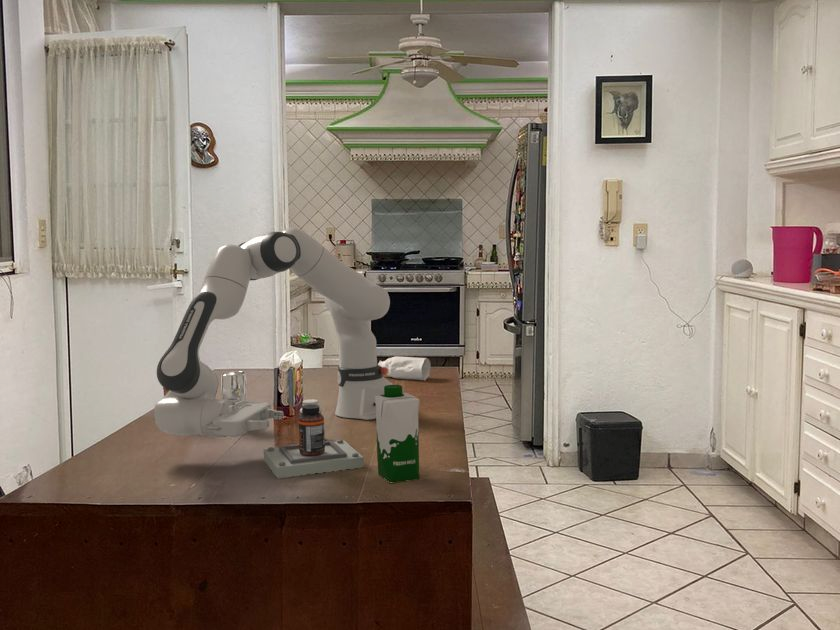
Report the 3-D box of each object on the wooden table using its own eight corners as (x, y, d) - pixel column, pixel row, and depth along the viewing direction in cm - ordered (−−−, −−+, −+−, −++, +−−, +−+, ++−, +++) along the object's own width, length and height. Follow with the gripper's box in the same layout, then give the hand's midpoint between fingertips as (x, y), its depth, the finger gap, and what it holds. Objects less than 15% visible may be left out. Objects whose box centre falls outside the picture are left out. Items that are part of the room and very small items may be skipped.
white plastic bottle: (385, 375, 308) (384, 353, 307) (431, 378, 300) (431, 356, 299) (374, 379, 301) (374, 357, 300) (422, 382, 293) (421, 359, 292)
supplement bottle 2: (297, 451, 198) (295, 404, 197) (321, 448, 200) (320, 402, 199) (302, 458, 193) (300, 409, 191) (327, 455, 195) (326, 407, 193)
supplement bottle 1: (297, 441, 217) (295, 402, 216) (306, 435, 222) (305, 398, 221) (316, 442, 215) (315, 403, 214) (325, 437, 221) (324, 399, 220)
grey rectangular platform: (344, 450, 208) (344, 437, 207) (363, 467, 193) (363, 453, 193) (263, 459, 201) (263, 446, 200) (277, 478, 186) (276, 464, 185)
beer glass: (242, 429, 231) (240, 375, 229) (218, 428, 232) (216, 375, 230) (252, 423, 237) (250, 371, 236) (229, 422, 239) (227, 370, 237)
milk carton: (409, 469, 191) (407, 382, 189) (425, 480, 183) (423, 389, 181) (372, 474, 188) (370, 386, 186) (387, 485, 180) (385, 393, 177)
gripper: (200, 414, 189) (258, 416, 187) (236, 396, 209) (289, 397, 207) (201, 442, 190) (259, 444, 187) (237, 421, 210) (290, 423, 207)
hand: (275, 419), depth 197 cm, fingers open, 8 cm apart
